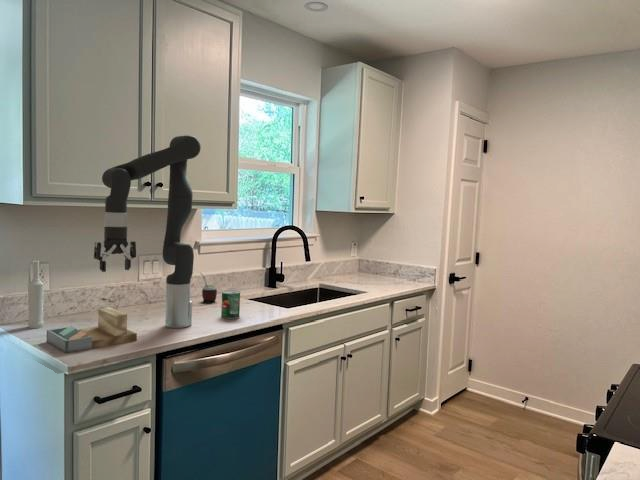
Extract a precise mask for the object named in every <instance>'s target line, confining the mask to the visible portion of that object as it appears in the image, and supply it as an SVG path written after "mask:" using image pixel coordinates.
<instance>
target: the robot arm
mask: <svg viewBox="0 0 640 480" xmlns="http://www.w3.org/2000/svg"><path fill="white" fill-rule="evenodd" d="M201 146H202V145H201V142H200V141H199V139H198V138H197V137H195V136H194V135H189V134H186V135H177V136H174V137H173V138H172V139H171V140H170V142H169V147H166V148H164V149H160V150H157V151H153V152H150V153H147V154H144V155H142V156H139V157H137V158H134V159H132V160H130V161H129V162H126V163H122V164H119V165H116V166H111V167H110V168H108V169H106V170H104V172H103V173H102V175H101V181H102V183H103V185H104V186H105V187H107V188H109V189H110V192H109V195H108V196H106V198H105V201H104V202H105V203H104V204H105V208H104V209H105V210H104V220H103V222H104V223H103V224H104V225H103V226H104V227H103V228H104V229H103V231H104V232H103V233H104V234H103V237H104V240H103V242H99V241H95V242H94V249H93V251H94V252H93V259H94V260H98V261H99V270H100V271H101V272H102V273H106V272H107V261H106V260H107V258H108V257H109V256H111V255H116V254H118V255H122V256H123V257H124V258H125V259H124V270H125V271H129V270H130V269H131V266H132V265H131V264H132V262H131V261H132V259H134V258H136V257H137V246H136V245H137V243H136V241H133V240H129V241H128V240H127V238H128V215H127V214H128V213H127V209H128V204H127V203H128V202H127V201H128V198H129V193H130V191H131V190H130V189H131V185H132V181H135V180H136V181H137V180H140V179H143V178H145V177H148V176H150V175H151V174H154V173H156V172H158V171H160V170H162V169H164V168H167V167H169V184H168V196H167V218H166V224H165V225H166V228H165V234H164V240H163V245H162V259H163V261H164V262H165V264H166V265H170V266H174V271H173V272H172V273H170V274H168V275H167V276H166V279H165V280H166V282H165V283H166V284H165V319H164V320H165V327H166V328H170V329H182V328H187V327H189V326H192V324H193V323H192V318H193V317H192V316H193V314H192V313H193V301H191V280H192V276H193V273H194V272H193V270H194V262H195V261H194V258H195V254H194V249H193V246H192V244H190V243H188V242H187V243H185V242H181V233H182V229H183V227H184V225H185V224H186V222H187V220H188V219H189V216H190V214H191V212H192V211H193V210H192V209H193V189H192V187H191V184H190V183H191V182H190V180H189V176H188V172H187V168H188V160H192V159H194V158H196V157H197V156H199V154H200V152H201V150H202V149H201V148H202V147H201ZM103 247H104V250H103V251H102V248H103ZM127 247H128V248H129V251H128V250H127V249H126V248H127Z"/></svg>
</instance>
